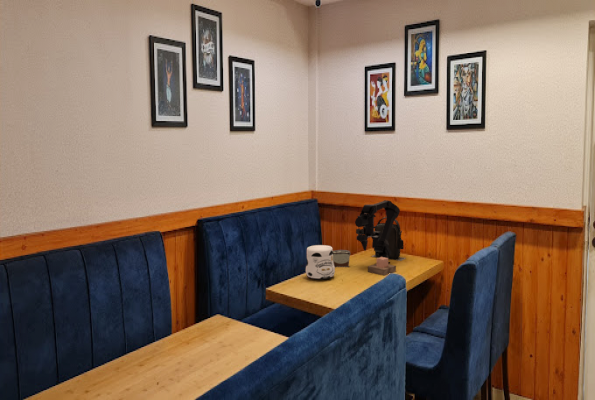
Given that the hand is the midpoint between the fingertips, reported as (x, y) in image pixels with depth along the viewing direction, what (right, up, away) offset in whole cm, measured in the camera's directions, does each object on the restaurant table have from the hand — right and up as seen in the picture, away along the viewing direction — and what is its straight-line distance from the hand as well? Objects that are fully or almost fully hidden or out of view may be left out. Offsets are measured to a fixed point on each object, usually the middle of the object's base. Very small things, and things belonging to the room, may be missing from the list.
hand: (369, 249), depth 293 cm
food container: (-17, -12, +9) cm, 22 cm away
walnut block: (+6, -13, -8) cm, 17 cm away
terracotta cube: (+6, -9, -9) cm, 14 cm away
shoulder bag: (+17, -9, +26) cm, 32 cm away
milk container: (-32, -15, -15) cm, 38 cm away
